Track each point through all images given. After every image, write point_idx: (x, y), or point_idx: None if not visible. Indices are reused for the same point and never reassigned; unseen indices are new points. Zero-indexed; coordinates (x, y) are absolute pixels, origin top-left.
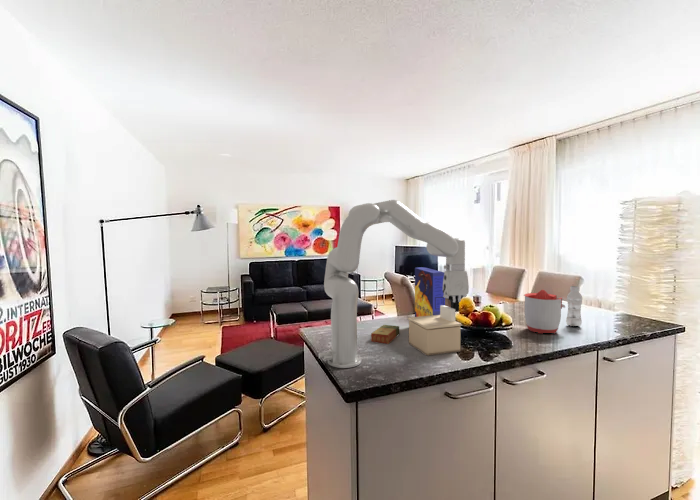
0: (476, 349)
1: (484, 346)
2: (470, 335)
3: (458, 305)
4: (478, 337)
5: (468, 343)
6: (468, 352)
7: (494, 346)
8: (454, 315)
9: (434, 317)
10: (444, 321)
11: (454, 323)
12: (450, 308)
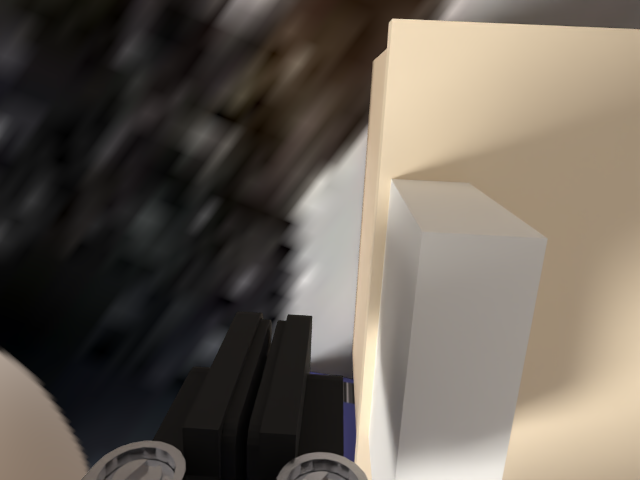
0: (210, 50)
1: (98, 88)
2: (50, 353)
3: (217, 378)
4: (15, 291)
5: (182, 202)
6: (324, 11)
7: (14, 54)
8: (421, 199)
9: (519, 453)
10: (549, 232)
11: (496, 69)
12: (477, 333)
